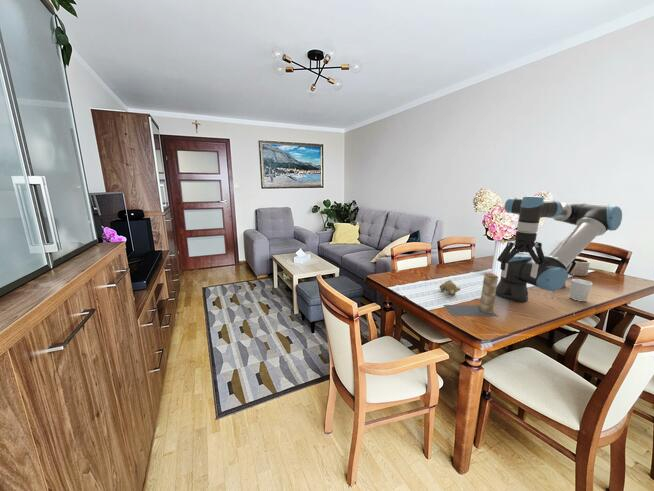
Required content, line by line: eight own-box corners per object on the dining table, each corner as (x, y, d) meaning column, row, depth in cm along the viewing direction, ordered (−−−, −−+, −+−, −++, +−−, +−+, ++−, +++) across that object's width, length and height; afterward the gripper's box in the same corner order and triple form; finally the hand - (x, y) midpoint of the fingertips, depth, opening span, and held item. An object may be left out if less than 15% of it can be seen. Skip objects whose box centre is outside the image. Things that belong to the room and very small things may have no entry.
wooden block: (487, 308, 133) (493, 273, 128) (492, 312, 129) (498, 276, 125) (479, 308, 133) (484, 273, 128) (483, 312, 129) (489, 276, 125)
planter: (567, 270, 190) (570, 256, 188) (588, 274, 182) (591, 260, 180) (563, 273, 184) (566, 259, 181) (585, 277, 175) (588, 263, 173)
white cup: (573, 295, 150) (577, 277, 147) (591, 301, 142) (595, 283, 140) (564, 297, 147) (568, 279, 144) (581, 303, 140) (586, 285, 137)
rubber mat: (485, 306, 136) (485, 305, 136) (498, 317, 126) (498, 316, 125) (443, 305, 137) (443, 304, 137) (452, 316, 126) (452, 315, 126)
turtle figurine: (451, 279, 155) (461, 281, 143) (455, 291, 155) (465, 294, 143) (437, 283, 156) (446, 285, 144) (441, 295, 155) (450, 298, 143)
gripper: (548, 230, 125) (539, 274, 130) (493, 229, 125) (486, 273, 130) (562, 233, 117) (551, 280, 123) (503, 232, 118) (495, 279, 123)
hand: (518, 277), depth 126 cm, fingers open, 13 cm apart
